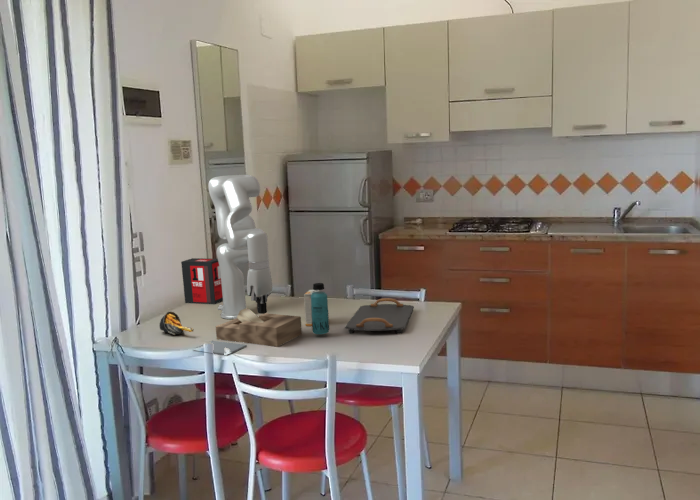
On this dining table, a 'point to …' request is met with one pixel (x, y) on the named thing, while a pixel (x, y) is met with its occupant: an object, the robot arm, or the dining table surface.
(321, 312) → the beverage bottle
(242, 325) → the slotted wooden block
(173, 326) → the fried shrimp in bowl
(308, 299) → the supplement box
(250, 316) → the maple bar
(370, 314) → the serving board
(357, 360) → the dining table surface
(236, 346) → the rubber mat
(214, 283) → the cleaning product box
